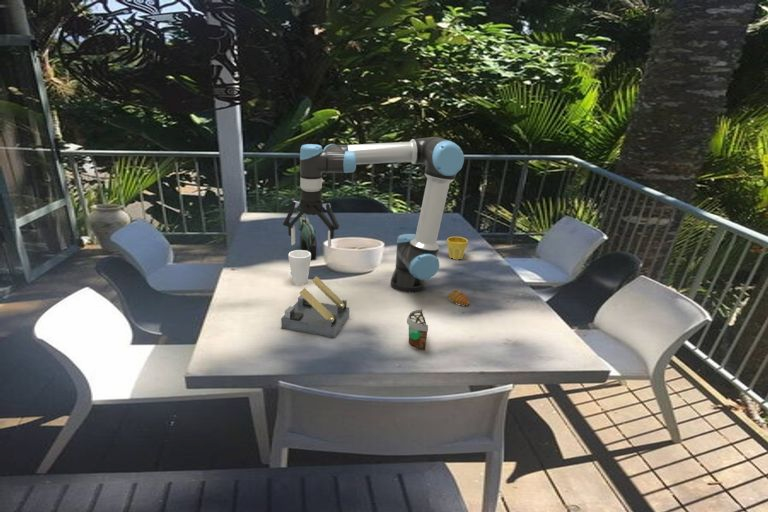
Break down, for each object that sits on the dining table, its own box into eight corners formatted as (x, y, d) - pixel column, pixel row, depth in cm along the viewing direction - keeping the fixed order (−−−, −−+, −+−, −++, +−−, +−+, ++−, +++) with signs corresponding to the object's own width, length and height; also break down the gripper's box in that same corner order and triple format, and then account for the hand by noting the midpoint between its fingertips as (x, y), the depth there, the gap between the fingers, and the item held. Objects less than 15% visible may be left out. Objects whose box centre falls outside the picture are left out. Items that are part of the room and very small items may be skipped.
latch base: (349, 316, 183) (349, 300, 180) (334, 338, 168) (334, 320, 165) (300, 308, 187) (299, 292, 185) (281, 328, 172) (280, 311, 169)
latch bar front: (333, 320, 170) (336, 317, 170) (330, 324, 168) (333, 321, 167) (302, 290, 169) (304, 287, 169) (298, 293, 167) (301, 290, 166)
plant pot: (443, 259, 244) (444, 240, 240) (448, 252, 253) (450, 235, 249) (463, 263, 240) (465, 244, 237) (467, 256, 249) (470, 238, 246)
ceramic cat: (297, 247, 249) (296, 210, 242) (309, 246, 252) (309, 209, 244) (307, 261, 232) (306, 221, 225) (320, 260, 235) (320, 220, 228)
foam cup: (306, 287, 205) (306, 259, 200) (285, 284, 206) (285, 256, 202) (313, 279, 213) (313, 251, 209) (294, 276, 215) (293, 249, 210)
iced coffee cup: (403, 333, 173) (405, 308, 169) (420, 333, 173) (422, 308, 170) (407, 352, 161) (409, 326, 158) (425, 352, 162) (428, 326, 158)
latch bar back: (343, 306, 180) (346, 304, 180) (341, 310, 178) (343, 307, 177) (314, 278, 179) (316, 275, 179) (311, 281, 177) (313, 278, 176)
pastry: (473, 305, 197) (474, 296, 196) (460, 308, 194) (461, 300, 192) (458, 296, 205) (459, 288, 203) (445, 299, 201) (446, 291, 200)
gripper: (347, 189, 175) (346, 244, 182) (279, 184, 176) (281, 239, 184) (344, 194, 168) (343, 251, 175) (273, 189, 169) (275, 246, 177)
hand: (311, 245), depth 180 cm, fingers open, 13 cm apart
